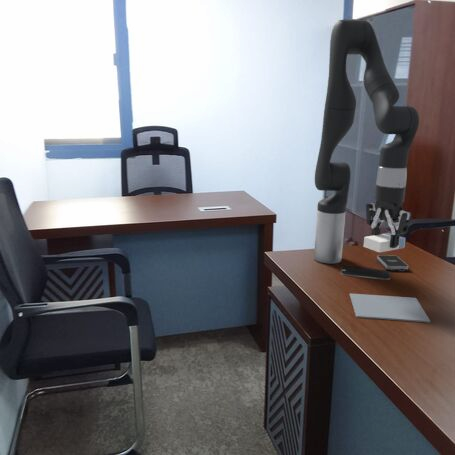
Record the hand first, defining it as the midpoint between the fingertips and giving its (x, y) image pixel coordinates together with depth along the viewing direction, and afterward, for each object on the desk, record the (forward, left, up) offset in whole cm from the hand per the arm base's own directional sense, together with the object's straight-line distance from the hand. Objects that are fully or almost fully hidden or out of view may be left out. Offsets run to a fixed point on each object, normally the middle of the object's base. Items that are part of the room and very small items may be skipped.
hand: (384, 244), depth 128 cm
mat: (+9, +1, -15) cm, 17 cm away
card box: (0, 0, -1) cm, 1 cm away
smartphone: (-16, -1, -16) cm, 22 cm away
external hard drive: (-25, +9, -16) cm, 31 cm away
